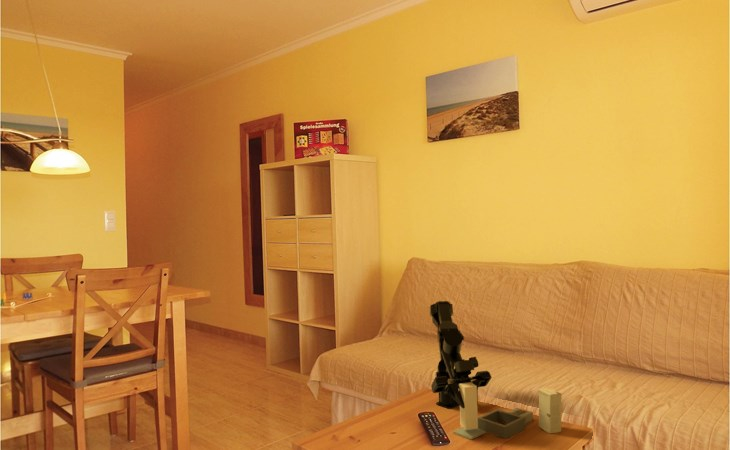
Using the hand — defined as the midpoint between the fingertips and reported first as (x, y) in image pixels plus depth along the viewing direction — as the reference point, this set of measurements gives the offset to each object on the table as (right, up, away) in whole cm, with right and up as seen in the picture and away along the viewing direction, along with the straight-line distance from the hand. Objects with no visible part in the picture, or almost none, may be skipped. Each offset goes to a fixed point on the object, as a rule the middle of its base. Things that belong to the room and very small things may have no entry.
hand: (470, 406), depth 167 cm
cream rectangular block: (0, -7, +2) cm, 7 cm away
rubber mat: (0, -9, +1) cm, 9 cm away
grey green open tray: (+13, -8, +6) cm, 17 cm away
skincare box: (+25, -8, +2) cm, 26 cm away
